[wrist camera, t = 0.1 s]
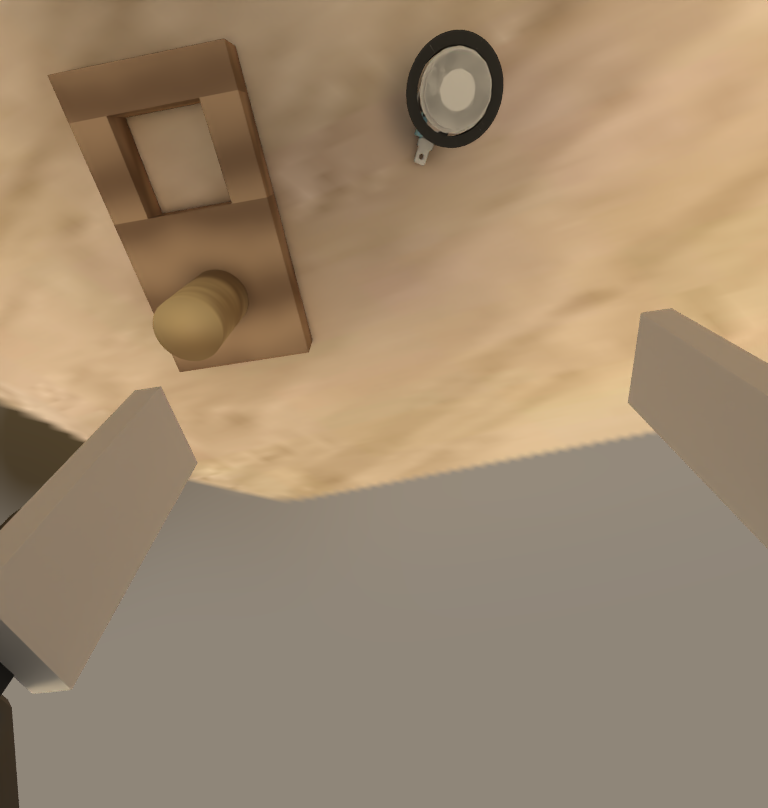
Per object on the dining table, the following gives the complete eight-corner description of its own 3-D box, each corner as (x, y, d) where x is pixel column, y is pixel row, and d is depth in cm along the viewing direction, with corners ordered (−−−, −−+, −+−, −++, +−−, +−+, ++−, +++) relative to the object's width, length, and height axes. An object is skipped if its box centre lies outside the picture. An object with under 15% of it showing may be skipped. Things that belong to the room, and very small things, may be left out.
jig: (71, 79, 31) (-46, 56, 22) (235, 46, 30) (179, 8, 22) (190, 359, 42) (142, 415, 34) (312, 340, 41) (295, 393, 33)
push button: (448, 175, 34) (472, 187, 26) (384, 150, 34) (386, 153, 25) (484, 74, 31) (525, 50, 23) (414, 44, 30) (429, 6, 22)
